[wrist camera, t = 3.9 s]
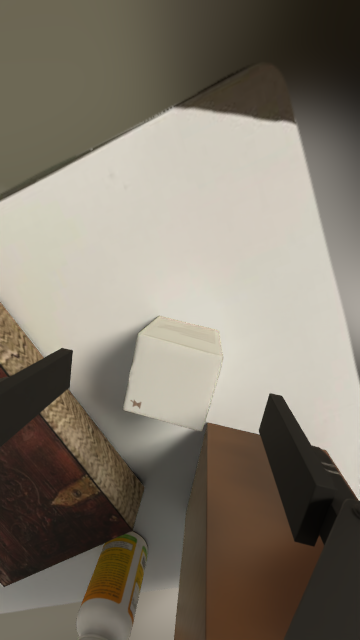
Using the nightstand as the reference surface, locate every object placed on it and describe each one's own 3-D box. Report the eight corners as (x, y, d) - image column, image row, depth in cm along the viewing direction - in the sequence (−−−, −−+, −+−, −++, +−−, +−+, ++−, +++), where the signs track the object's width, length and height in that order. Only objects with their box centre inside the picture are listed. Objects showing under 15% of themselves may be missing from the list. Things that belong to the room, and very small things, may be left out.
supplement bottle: (97, 540, 30) (45, 665, 20) (126, 520, 29) (86, 643, 19) (127, 569, 30) (90, 704, 21) (157, 550, 29) (133, 685, 20)
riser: (326, 450, 24) (830, 1223, 5) (292, 541, 27) (519, 1279, 7) (207, 422, 25) (202, 966, 5) (185, 513, 28) (130, 1099, 8)
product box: (204, 386, 24) (201, 435, 17) (145, 370, 25) (119, 412, 17) (220, 329, 23) (225, 356, 16) (158, 313, 23) (135, 332, 16)
